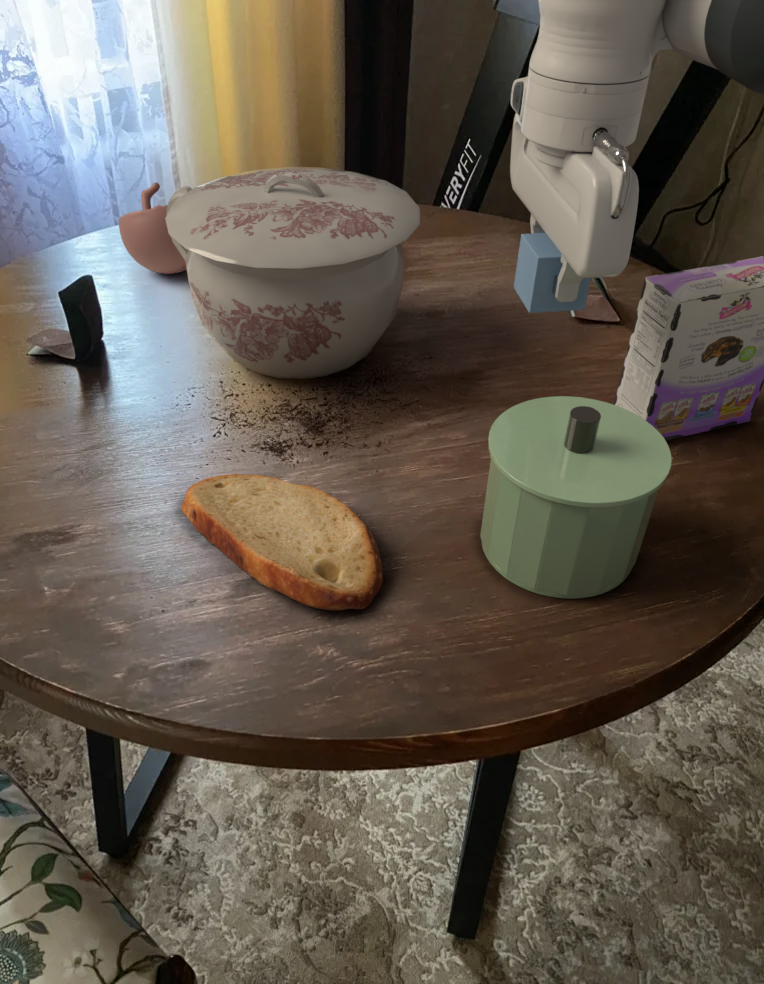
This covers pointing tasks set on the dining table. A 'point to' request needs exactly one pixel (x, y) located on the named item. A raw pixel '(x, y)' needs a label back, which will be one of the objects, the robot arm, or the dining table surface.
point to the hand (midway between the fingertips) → (551, 281)
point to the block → (543, 276)
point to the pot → (560, 540)
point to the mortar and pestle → (150, 237)
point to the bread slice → (289, 538)
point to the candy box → (697, 349)
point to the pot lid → (579, 451)
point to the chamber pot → (294, 264)
